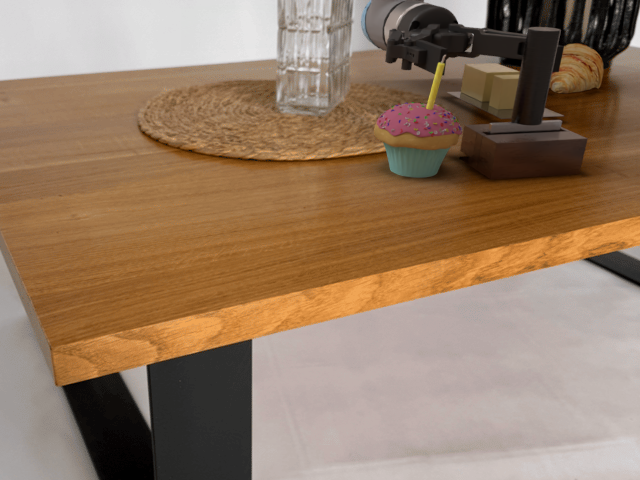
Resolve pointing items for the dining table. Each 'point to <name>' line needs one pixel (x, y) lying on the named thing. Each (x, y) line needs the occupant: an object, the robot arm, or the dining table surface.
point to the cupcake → (418, 134)
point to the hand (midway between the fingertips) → (501, 61)
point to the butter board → (495, 111)
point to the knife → (533, 85)
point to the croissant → (577, 70)
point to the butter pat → (503, 91)
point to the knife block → (522, 152)
